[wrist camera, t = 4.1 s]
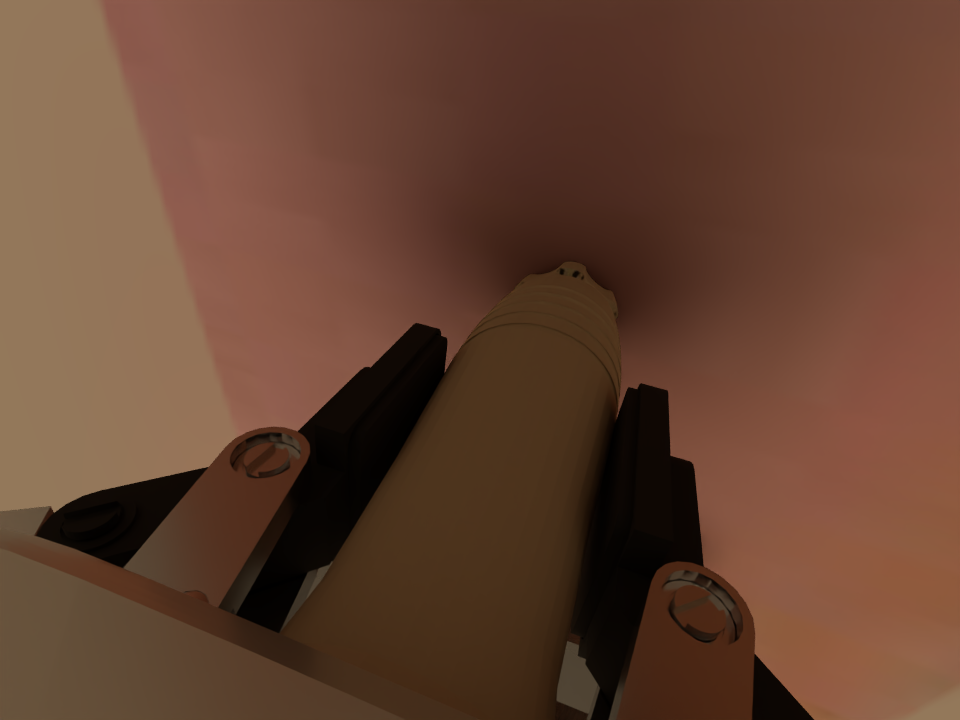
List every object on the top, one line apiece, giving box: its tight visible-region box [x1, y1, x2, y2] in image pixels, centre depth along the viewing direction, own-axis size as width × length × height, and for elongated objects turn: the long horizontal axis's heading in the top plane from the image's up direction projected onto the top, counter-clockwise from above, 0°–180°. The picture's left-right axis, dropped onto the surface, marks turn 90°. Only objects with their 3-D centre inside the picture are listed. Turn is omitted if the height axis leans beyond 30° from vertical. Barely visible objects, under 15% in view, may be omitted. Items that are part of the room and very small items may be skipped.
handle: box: [279, 261, 621, 720], centre depth 10 cm, size 5×6×15 cm
